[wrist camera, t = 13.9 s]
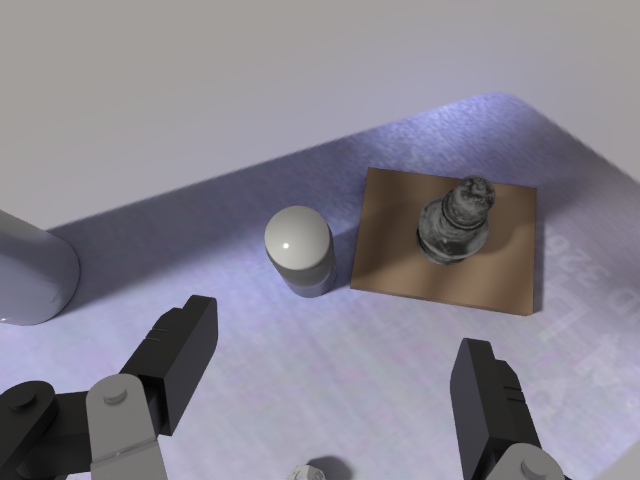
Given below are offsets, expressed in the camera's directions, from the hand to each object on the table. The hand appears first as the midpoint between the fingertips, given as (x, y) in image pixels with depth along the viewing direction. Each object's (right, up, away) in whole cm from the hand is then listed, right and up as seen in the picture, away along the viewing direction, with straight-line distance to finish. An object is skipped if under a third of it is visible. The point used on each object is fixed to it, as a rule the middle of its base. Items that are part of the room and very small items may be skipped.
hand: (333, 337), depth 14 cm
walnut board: (+11, +3, +28) cm, 30 cm away
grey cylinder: (-1, 0, +27) cm, 27 cm away
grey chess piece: (+11, +3, +26) cm, 29 cm away
